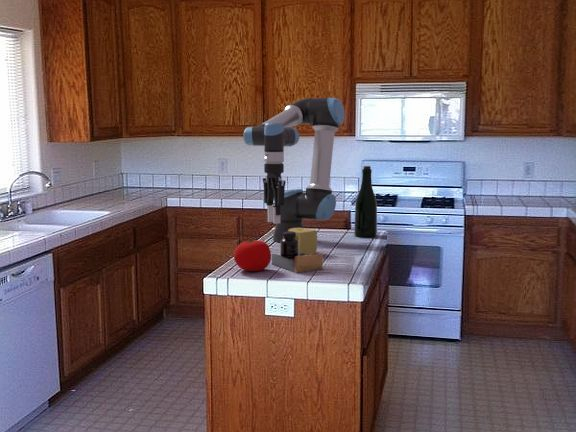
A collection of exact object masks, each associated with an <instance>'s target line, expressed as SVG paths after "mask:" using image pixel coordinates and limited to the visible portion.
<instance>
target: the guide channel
mask: <svg viewBox="0 0 576 432" xmlns="http://www.w3.org/2000/svg"><path fill="white" fill-rule="evenodd" d="M323 255H324V254H323V253H322V252H318V253H317V252H316V253H314V254H309V255H308V254H305V253H302V252H299V251H298V256H295V260H292V259H289V258H286V257H283V256H280V254H278V253H277V254H276V253H271V265H272V266H275V267H277V268H281V269H284V270H285V271H289V272H291V273H294V274H301V273H308V272H315V271H316V272H317V271H322V270H323V263H324V262H323V261H324V260H323V257H324V256H323Z"/></svg>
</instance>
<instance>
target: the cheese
mask: <svg viewBox="0 0 576 432" xmlns="http://www.w3.org/2000/svg"><path fill="white" fill-rule="evenodd" d="M288 231H292V232H296V237H295V239H297V240H298V251H299V252H302V253H305V254H308V255H309V254H317V249H318V233H317V230H316V229H309V228H292V229H289V230H288Z"/></svg>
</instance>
